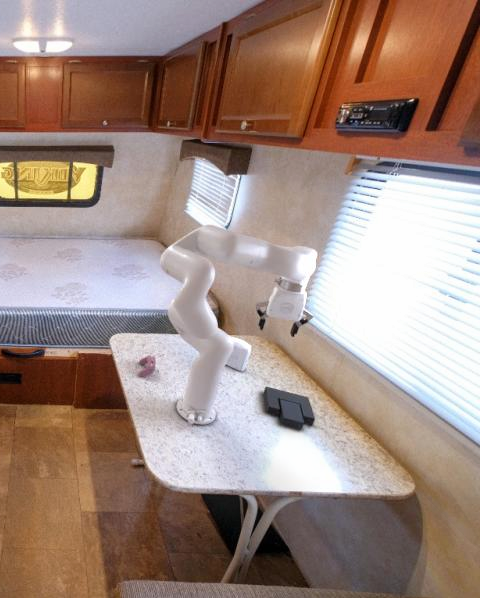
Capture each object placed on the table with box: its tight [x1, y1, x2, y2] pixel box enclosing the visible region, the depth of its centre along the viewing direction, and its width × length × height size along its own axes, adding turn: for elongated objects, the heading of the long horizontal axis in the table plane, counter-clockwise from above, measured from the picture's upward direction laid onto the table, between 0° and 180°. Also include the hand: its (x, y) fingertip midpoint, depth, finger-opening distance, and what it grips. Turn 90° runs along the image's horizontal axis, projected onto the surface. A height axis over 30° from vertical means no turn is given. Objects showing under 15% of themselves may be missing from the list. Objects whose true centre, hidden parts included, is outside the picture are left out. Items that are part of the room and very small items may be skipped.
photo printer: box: [225, 336, 252, 372], centre depth 147 cm, size 10×4×12 cm, turn 47°
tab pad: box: [278, 399, 305, 431], centre depth 122 cm, size 10×6×3 cm, turn 159°
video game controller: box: [138, 354, 157, 377], centre depth 140 cm, size 10×5×7 cm, turn 171°
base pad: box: [263, 386, 316, 427], centre depth 126 cm, size 12×14×3 cm
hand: (276, 331), depth 122 cm, fingers open, 9 cm apart
